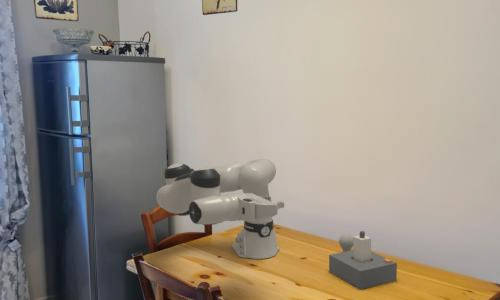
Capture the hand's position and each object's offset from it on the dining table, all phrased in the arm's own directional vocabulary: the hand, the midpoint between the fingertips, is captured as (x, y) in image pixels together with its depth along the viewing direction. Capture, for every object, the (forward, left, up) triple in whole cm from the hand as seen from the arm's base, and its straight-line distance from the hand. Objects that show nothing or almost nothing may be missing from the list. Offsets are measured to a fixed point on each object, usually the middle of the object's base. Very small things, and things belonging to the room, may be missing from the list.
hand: (276, 201), depth 158 cm
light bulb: (-10, +37, -30) cm, 49 cm away
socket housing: (+7, +31, -30) cm, 44 cm away
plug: (+7, +31, -27) cm, 42 cm away
